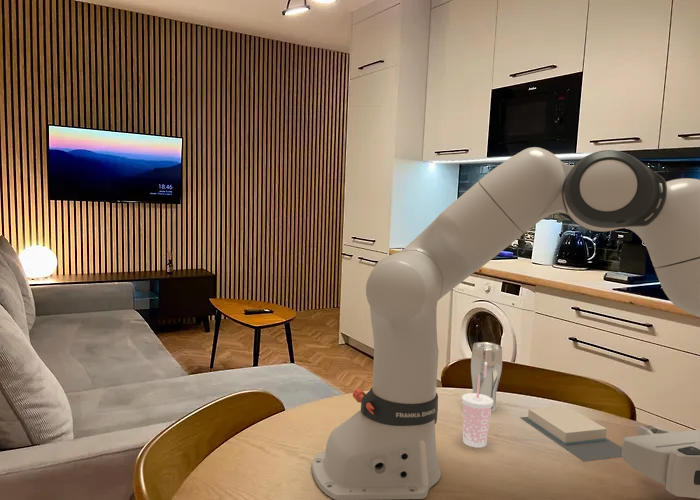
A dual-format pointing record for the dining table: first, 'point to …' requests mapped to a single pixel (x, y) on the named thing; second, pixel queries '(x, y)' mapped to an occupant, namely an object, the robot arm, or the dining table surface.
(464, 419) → the beverage cup
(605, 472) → the dining table surface
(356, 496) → the robot arm
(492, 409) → the beer glass
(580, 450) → the mat
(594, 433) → the tile
